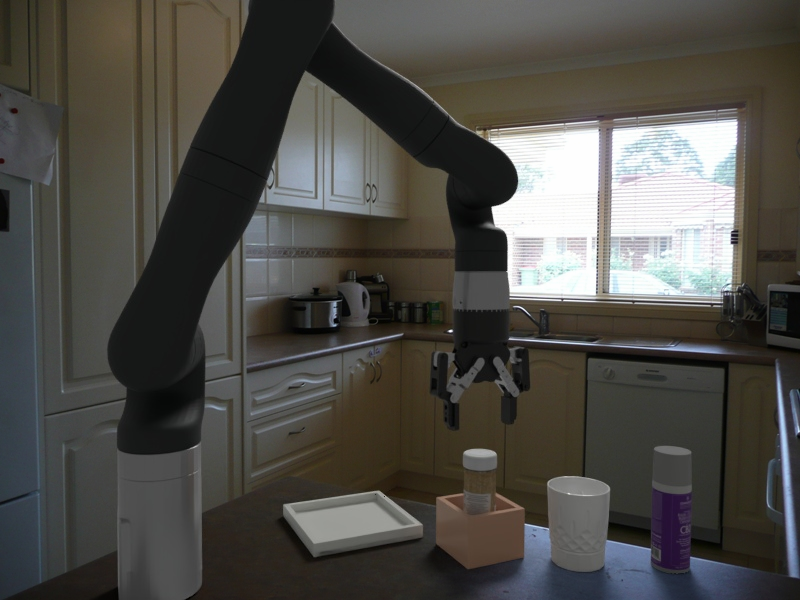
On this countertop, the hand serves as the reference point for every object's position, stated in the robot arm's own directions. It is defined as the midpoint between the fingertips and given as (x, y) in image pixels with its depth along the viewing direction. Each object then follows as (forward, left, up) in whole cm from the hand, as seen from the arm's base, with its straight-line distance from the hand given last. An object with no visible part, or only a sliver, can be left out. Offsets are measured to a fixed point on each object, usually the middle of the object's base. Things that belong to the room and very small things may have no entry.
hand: (480, 426), depth 87 cm
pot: (0, 0, -17) cm, 17 cm away
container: (+20, -14, -17) cm, 30 cm away
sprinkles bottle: (0, 0, -17) cm, 17 cm away
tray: (-13, +15, -17) cm, 26 cm away
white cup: (+10, -8, -17) cm, 21 cm away
